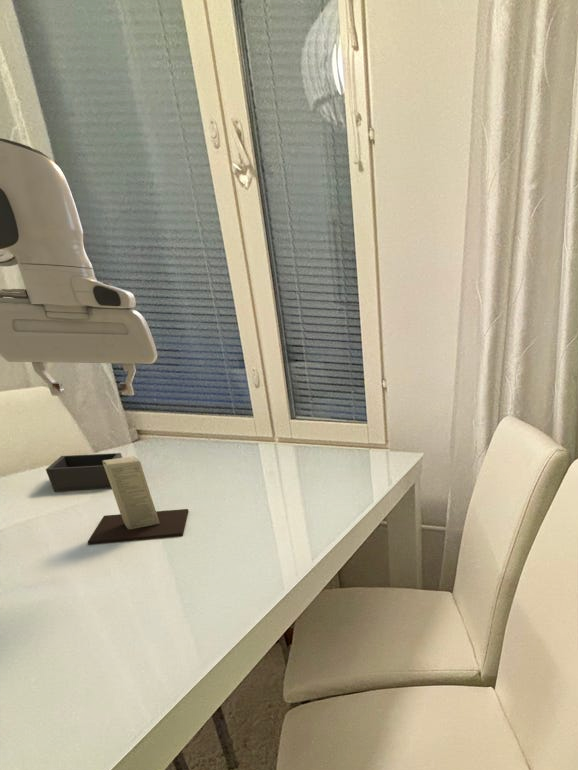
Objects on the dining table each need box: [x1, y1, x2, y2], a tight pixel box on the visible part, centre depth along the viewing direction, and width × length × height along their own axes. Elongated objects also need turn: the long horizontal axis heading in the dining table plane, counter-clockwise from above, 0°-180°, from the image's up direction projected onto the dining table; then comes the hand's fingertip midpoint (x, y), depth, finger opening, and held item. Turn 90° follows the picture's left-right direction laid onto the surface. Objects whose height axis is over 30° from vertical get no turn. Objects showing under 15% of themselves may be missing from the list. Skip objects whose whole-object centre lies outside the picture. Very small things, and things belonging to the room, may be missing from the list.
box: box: [102, 456, 159, 530], centre depth 94 cm, size 5×4×11 cm
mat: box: [87, 508, 190, 546], centre depth 97 cm, size 14×14×1 cm
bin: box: [45, 452, 123, 493], centre depth 119 cm, size 12×13×5 cm
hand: (94, 395), depth 86 cm, fingers open, 8 cm apart
